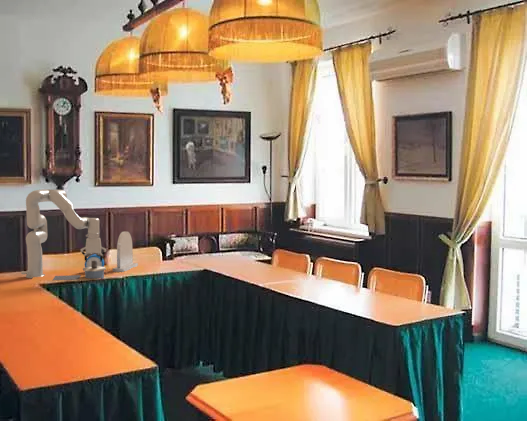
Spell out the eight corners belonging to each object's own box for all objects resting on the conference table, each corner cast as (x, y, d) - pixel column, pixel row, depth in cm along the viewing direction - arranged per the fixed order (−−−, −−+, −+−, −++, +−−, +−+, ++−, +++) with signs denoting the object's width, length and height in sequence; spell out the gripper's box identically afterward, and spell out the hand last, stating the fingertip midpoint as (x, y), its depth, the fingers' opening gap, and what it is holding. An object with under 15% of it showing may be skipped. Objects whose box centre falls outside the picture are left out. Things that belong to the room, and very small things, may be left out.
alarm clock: (84, 274, 455) (84, 253, 454) (85, 272, 461) (85, 251, 460) (103, 273, 457) (103, 252, 455) (104, 272, 463) (104, 251, 462)
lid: (81, 271, 431) (81, 262, 430) (84, 268, 445) (84, 259, 445) (104, 271, 433) (104, 262, 433) (106, 267, 448) (106, 259, 447)
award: (126, 265, 494) (126, 229, 492) (137, 265, 492) (137, 229, 490) (112, 271, 466) (111, 233, 464) (123, 272, 465) (123, 233, 463)
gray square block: (86, 280, 431) (86, 271, 431) (84, 277, 442) (84, 268, 442) (105, 279, 436) (105, 270, 436) (102, 276, 447) (101, 267, 447)
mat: (52, 281, 426) (52, 280, 426) (55, 277, 442) (55, 275, 442) (79, 281, 429) (79, 279, 429) (81, 276, 446) (81, 275, 446)
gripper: (79, 237, 432) (79, 262, 433) (106, 237, 435) (106, 262, 437) (80, 235, 439) (80, 260, 440) (107, 235, 443) (106, 260, 444)
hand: (93, 261), depth 439 cm, fingers open, 9 cm apart
